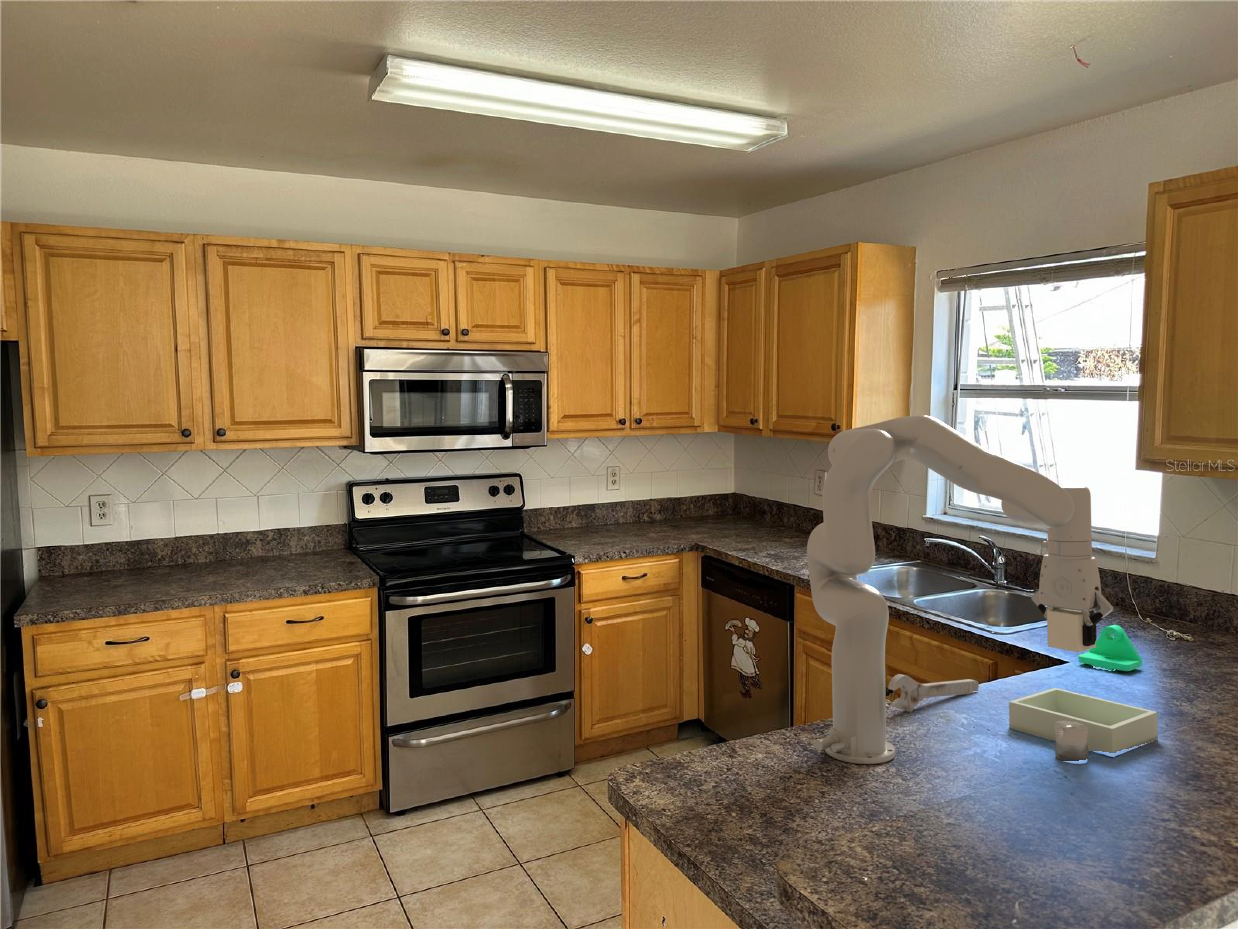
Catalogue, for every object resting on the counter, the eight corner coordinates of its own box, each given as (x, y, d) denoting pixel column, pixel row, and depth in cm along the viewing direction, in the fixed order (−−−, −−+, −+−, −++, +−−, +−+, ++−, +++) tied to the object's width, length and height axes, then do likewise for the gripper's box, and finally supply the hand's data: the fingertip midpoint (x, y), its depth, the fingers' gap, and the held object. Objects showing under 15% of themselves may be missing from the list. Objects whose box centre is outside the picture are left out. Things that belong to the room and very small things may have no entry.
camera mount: (1076, 666, 213) (1076, 625, 213) (1091, 661, 217) (1090, 621, 217) (1128, 676, 203) (1127, 633, 203) (1142, 670, 208) (1141, 628, 208)
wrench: (978, 705, 193) (893, 715, 176) (970, 703, 194) (886, 713, 178) (980, 669, 193) (895, 676, 176) (972, 668, 195) (888, 674, 178)
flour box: (1078, 652, 159) (1077, 615, 159) (1047, 646, 164) (1046, 610, 164) (1095, 647, 162) (1095, 611, 162) (1065, 641, 167) (1064, 606, 167)
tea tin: (1078, 766, 148) (1077, 732, 148) (1049, 757, 152) (1049, 724, 152) (1094, 760, 151) (1093, 726, 150) (1065, 751, 155) (1065, 719, 155)
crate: (1112, 758, 151) (1112, 728, 151) (1009, 728, 168) (1008, 701, 168) (1157, 739, 160) (1157, 712, 160) (1055, 713, 177) (1054, 687, 177)
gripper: (1016, 547, 168) (1018, 637, 169) (1104, 555, 154) (1106, 653, 154) (1038, 543, 172) (1040, 631, 173) (1126, 551, 158) (1128, 647, 158)
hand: (1071, 641), depth 163 cm, fingers closed on flour box, 6 cm apart
